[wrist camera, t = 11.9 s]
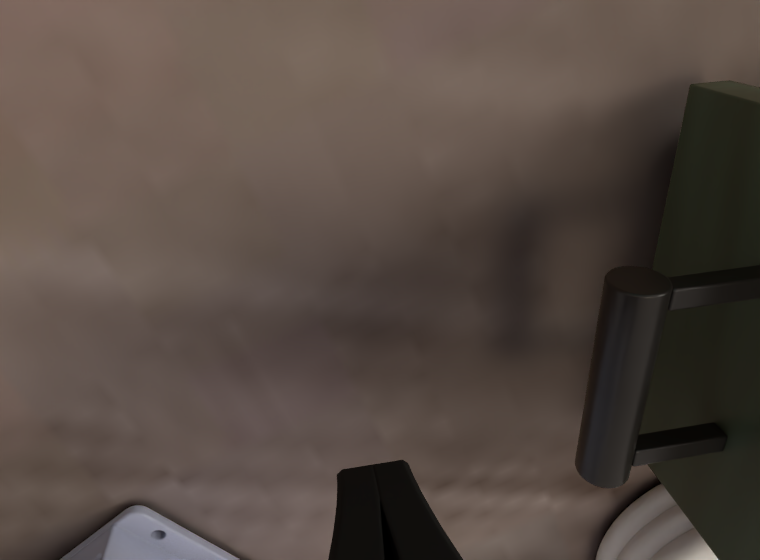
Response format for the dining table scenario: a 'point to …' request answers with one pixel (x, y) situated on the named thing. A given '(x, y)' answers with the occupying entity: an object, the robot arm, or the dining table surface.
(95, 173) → the dining table surface
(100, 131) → the dining table surface
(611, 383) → the drawer
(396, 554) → the robot arm
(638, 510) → the white ridged disc
